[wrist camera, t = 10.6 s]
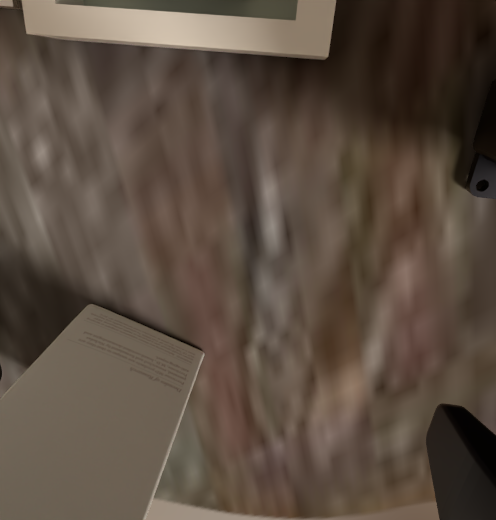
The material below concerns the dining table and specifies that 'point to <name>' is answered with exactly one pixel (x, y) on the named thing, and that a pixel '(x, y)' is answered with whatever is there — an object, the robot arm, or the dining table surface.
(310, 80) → the dining table surface
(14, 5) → the phone slab
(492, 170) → the robot arm
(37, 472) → the supplement box
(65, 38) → the white grey flat device
